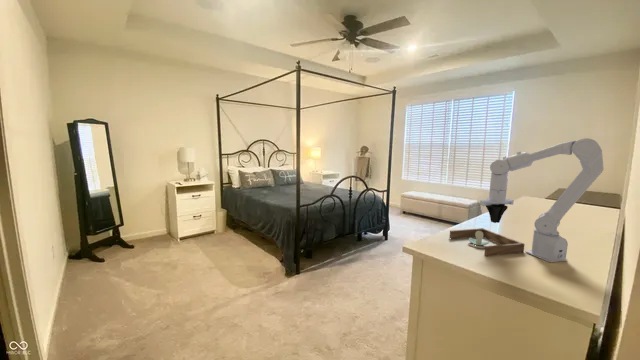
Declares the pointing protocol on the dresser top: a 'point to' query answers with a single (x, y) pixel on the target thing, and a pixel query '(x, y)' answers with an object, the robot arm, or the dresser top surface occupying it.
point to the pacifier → (477, 240)
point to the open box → (506, 243)
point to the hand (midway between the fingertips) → (495, 222)
